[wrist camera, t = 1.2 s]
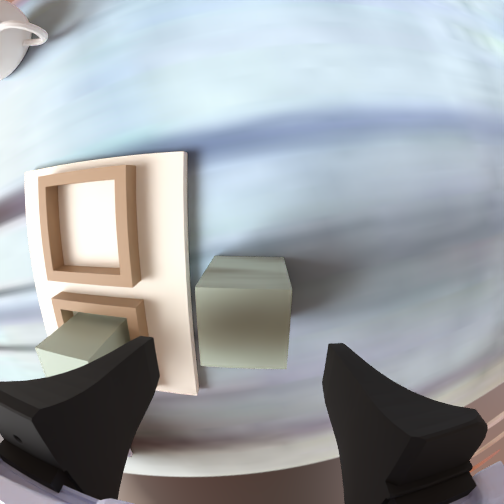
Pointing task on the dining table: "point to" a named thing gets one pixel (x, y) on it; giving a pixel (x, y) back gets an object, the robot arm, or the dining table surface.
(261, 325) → the green block
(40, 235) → the puzzle board
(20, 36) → the mug
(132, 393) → the robot arm
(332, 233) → the dining table surface
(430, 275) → the dining table surface
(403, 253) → the dining table surface
